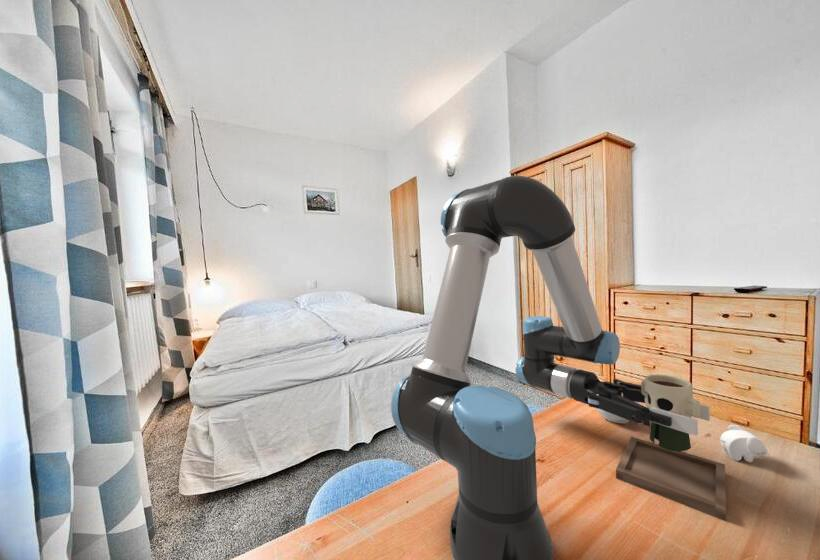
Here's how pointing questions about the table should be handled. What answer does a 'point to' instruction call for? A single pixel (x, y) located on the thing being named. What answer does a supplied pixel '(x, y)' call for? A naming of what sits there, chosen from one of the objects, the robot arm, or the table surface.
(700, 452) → the table surface
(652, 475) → the walnut tray
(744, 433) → the elephant figurine
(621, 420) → the lidded jar
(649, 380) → the character mug
